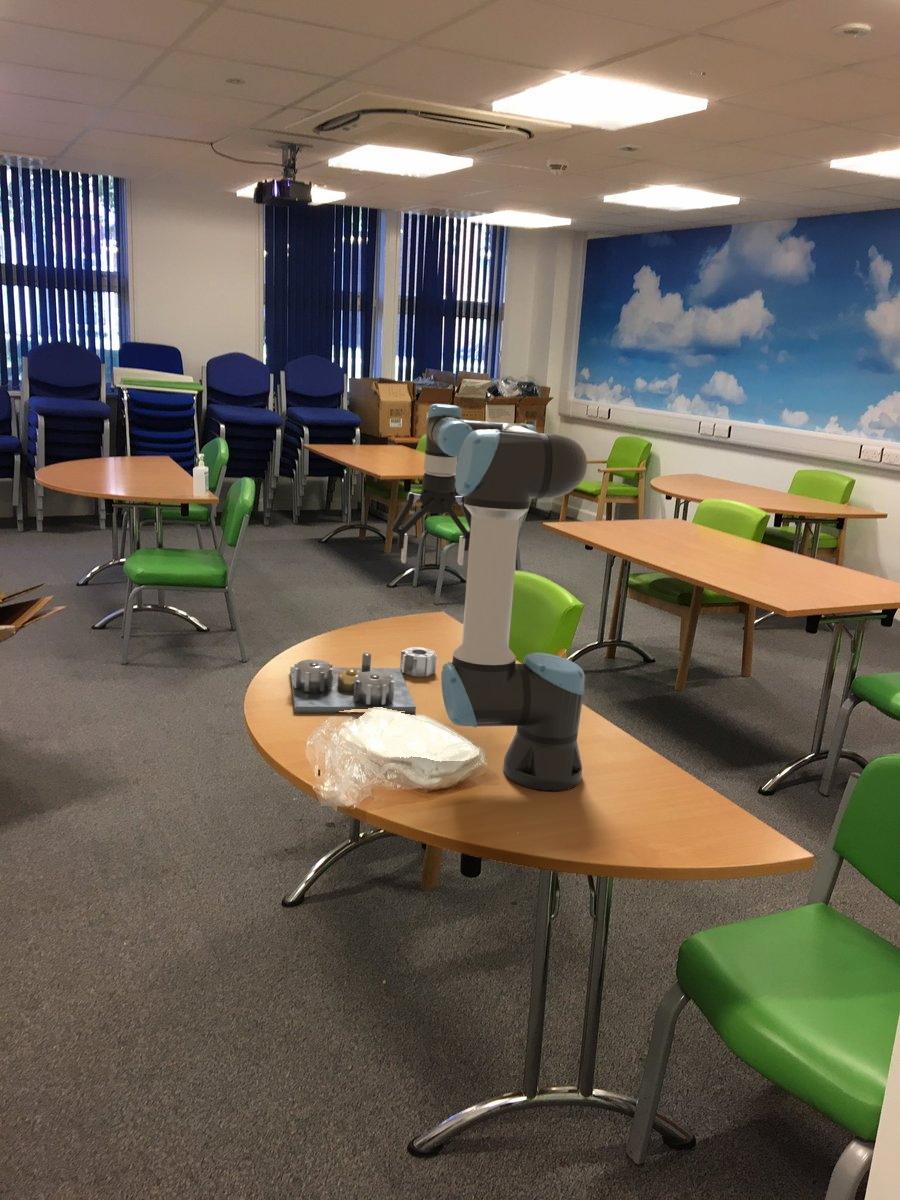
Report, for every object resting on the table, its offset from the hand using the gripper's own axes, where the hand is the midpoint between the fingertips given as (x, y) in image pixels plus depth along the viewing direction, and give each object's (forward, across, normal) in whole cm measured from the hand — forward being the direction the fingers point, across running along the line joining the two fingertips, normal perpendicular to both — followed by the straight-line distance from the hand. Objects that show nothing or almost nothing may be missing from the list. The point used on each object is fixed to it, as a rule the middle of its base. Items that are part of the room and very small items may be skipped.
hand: (431, 563), depth 219 cm
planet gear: (+28, +1, -2) cm, 28 cm away
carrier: (+28, +19, +12) cm, 36 cm away
